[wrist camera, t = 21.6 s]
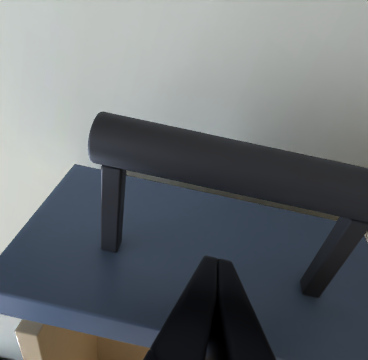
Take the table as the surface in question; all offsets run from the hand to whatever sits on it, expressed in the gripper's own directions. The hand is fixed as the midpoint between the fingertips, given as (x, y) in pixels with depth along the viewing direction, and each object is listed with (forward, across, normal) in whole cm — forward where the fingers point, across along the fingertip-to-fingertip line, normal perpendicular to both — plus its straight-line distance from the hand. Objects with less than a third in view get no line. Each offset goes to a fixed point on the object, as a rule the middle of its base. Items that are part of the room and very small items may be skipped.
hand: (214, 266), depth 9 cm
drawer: (+5, 0, +8) cm, 10 cm away
